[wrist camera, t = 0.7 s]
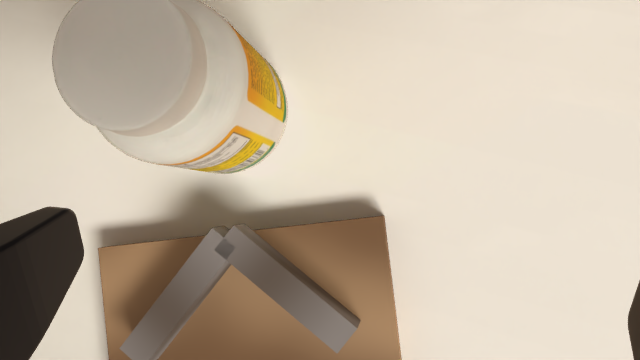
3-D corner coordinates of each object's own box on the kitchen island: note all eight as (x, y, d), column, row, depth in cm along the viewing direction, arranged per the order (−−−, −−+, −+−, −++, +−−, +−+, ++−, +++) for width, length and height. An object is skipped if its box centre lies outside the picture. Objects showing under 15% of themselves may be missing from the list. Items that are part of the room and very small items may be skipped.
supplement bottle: (259, 194, 25) (164, 192, 15) (150, 143, 26) (-4, 112, 16) (311, 76, 25) (248, 0, 15) (199, 29, 25) (73, -71, 16)
